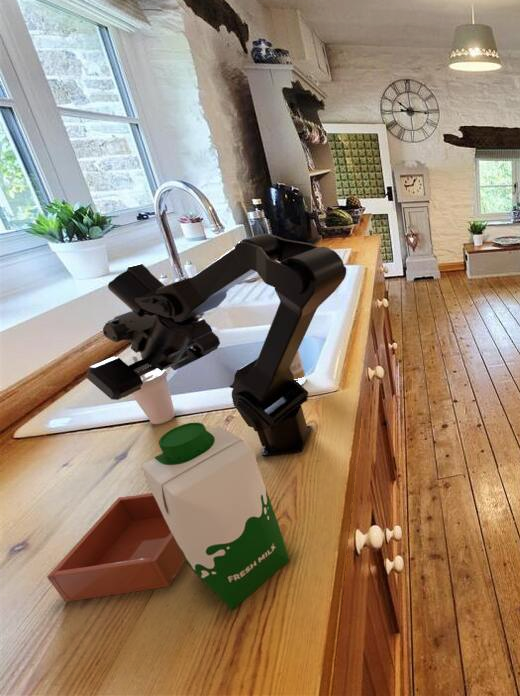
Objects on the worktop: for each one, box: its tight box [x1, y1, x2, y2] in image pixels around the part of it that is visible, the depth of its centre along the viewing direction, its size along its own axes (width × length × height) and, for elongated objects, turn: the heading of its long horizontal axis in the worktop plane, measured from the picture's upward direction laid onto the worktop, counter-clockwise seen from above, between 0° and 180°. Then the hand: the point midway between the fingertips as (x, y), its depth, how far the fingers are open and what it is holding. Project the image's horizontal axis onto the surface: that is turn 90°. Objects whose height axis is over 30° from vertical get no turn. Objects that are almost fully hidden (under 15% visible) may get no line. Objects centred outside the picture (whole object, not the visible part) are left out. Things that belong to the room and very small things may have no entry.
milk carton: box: [140, 421, 291, 611], centre depth 46 cm, size 9×9×20 cm
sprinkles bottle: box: [267, 330, 306, 381], centre depth 87 cm, size 5×5×13 cm
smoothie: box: [130, 355, 176, 425], centre depth 77 cm, size 6×6×14 cm
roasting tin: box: [46, 492, 187, 603], centre depth 52 cm, size 11×11×4 cm
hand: (148, 380), depth 76 cm, fingers open, 9 cm apart
